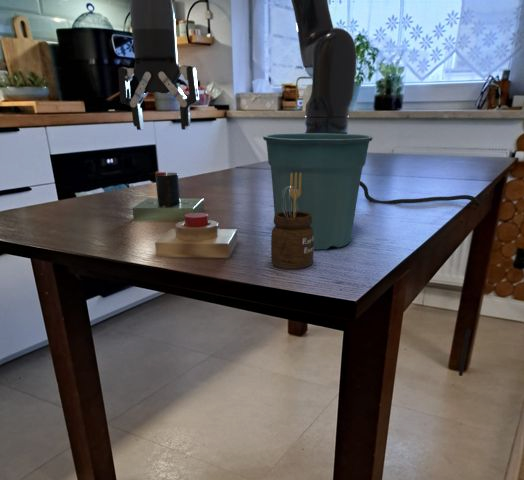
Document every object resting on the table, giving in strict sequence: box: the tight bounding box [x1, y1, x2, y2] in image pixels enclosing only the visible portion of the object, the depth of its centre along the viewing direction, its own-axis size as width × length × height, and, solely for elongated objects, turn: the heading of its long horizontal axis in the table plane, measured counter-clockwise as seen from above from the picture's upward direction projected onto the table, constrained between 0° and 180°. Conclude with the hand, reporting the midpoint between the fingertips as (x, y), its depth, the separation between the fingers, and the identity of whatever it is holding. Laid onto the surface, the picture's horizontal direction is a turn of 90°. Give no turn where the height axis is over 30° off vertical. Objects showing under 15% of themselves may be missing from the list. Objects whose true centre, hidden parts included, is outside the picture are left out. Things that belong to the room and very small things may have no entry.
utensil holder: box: [270, 173, 315, 271], centre depth 71 cm, size 6×6×12 cm
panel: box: [131, 197, 205, 222], centre depth 104 cm, size 12×10×3 cm
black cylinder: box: [154, 171, 181, 205], centre depth 102 cm, size 4×4×6 cm
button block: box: [154, 219, 238, 259], centre depth 80 cm, size 11×9×4 cm
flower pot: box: [262, 132, 374, 250], centre depth 81 cm, size 16×16×16 cm
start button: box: [184, 212, 209, 227], centre depth 79 cm, size 4×4×2 cm
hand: (162, 129), depth 97 cm, fingers open, 8 cm apart
